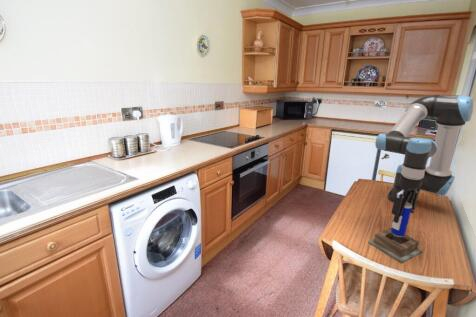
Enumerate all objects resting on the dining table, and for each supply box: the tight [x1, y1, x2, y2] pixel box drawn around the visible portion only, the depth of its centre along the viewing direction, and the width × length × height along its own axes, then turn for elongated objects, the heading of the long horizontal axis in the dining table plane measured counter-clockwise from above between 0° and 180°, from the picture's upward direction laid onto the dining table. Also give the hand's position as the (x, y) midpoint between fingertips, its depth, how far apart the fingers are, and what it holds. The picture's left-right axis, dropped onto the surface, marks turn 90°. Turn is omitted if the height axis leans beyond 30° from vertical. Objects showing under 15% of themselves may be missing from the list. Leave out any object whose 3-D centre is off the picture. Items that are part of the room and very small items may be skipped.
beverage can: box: [391, 202, 413, 237], centre depth 106 cm, size 5×5×15 cm
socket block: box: [368, 227, 424, 264], centre depth 110 cm, size 15×15×5 cm
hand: (399, 226), depth 107 cm, fingers closed on beverage can, 5 cm apart
